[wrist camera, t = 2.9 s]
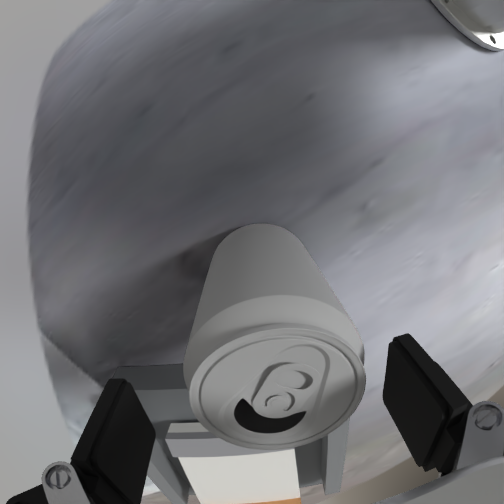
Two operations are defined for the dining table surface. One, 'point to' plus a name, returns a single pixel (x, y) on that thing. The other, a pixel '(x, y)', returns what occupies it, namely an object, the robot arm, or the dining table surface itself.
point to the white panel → (233, 468)
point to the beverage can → (271, 345)
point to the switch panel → (179, 411)
